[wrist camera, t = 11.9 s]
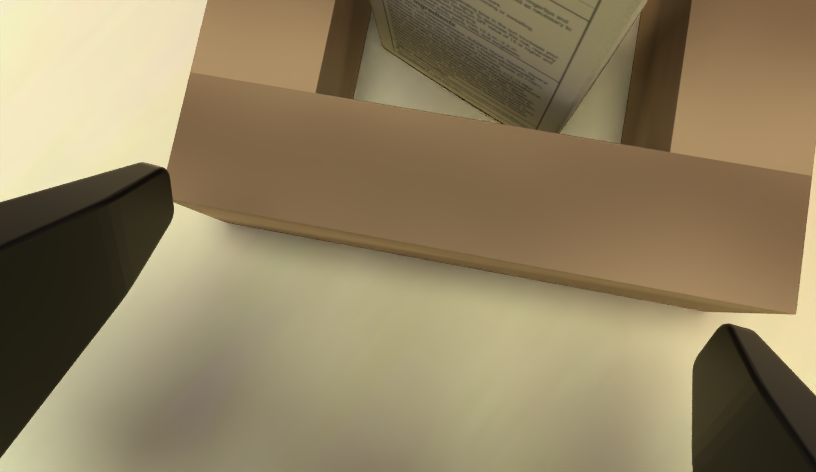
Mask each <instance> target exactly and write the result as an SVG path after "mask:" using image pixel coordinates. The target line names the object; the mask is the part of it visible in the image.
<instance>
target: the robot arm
mask: <svg viewBox="0 0 816 472" xmlns="http://www.w3.org/2000/svg"><path fill="white" fill-rule="evenodd" d="M173 214H174V204H173V196H172V188H171V180H170V175H169V173H168V171H167V170H166V169H165V168H163V167H160V166H156V165H152V164H149V163H144V162H141V163H137V164H133V165H130V166H126V167H123V168H119V169H116V170H112V171H109V172H105V173H102V174H98V175H95V176H91V177H87V178H84V179H80V180H77V181H73V182H70V183H66V184H63V185H59V186H56V187H52V188H49V189H45V190H42V191H38V192H35V193H31V194H28V195H24V196H21V197H17V198H14V199H10V200H7V201H3V202H0V458H1V457H2V455H3V454H4V453H5V452H6V450H7V449H8V448H9V446H10V445H11V444H12V443H13V441H14V440H15V439H16V437H17V436H18V435H19V433H20V432H21V431H22V430H23V428H24V427H25V426H26V424H27V423H28V422H29V421H30V419H31V418H32V417H33V415H34V414H35V413H36V411H37V410H38V409H39V408H40V406H41V405H42V404H43V402H44V401H45V400H46V399H47V397H48V396H49V395H50V393H51V392H52V391H53V389H54V388H55V387H56V386H57V384H58V383H59V382H60V380H61V379H62V378H63V377H64V375H65V374H66V373H67V371H68V370H69V369H70V367H71V366H72V365H73V364H74V362H75V361H76V360H77V358H78V357H79V356H80V355H81V353H82V352H83V351H84V349H85V348H86V347H87V346H88V344H89V343H90V342H91V340H92V339H93V338H94V336H95V335H96V334H97V333H98V331H99V330H100V329H101V327H102V326H103V325H104V324H105V322H106V321H107V320H108V318H109V317H110V316H111V314H112V313H113V312H114V311H115V309H116V308H117V307H118V305H119V304H120V303H121V301H122V300H123V299H124V297H125V296H126V295H127V293H128V292H129V290H130V289H131V287H132V285H133V284H134V282H135V281H136V279H137V278H138V276H139V274H140V273H141V271H142V269H143V268H144V266H145V264H146V263H147V261H148V259H149V258H150V256H151V254H152V253H153V251H154V249H155V248H156V246H157V244H158V243H159V241H160V239H161V238H162V236H163V235H164V233H165V231H166V230H167V228H168V226H169V225H170V223H171V221H172V218H173ZM692 466H693V472H816V395H815V394H814V393H813V392H812V391H811V390H810V389H809V388H808V387H807V386H806V385H805V384H804V383H803V382H802V381H801V380H800V379H799V378H798V376H797V375H796V374H795V373H794V372H793V371H792V370H791V369H790V368H789V367H788V366H787V365H786V364H785V363H784V362H783V361H782V360H781V359H780V358H779V357H778V355H777V354H776V353H775V352H774V351H773V350H772V349H771V348H770V347H769V346H768V345H767V344H766V343H765V342H764V341H763V340H762V339H761V338H760V337H759V336H758V334H756V333H755V332H754V331H752V330H750V329H747V328H743V327H739V326H736V325H732V324H723V325H722V326H720V327H719V328H718V329H717V330H716V332H715V333H714V334H713V336H712V337H711V338H710V340H709V341H708V342H707V344H706V345H705V346H704V348H703V349H702V350H701V352H700V353H699V354H698V356H697V357H696V360H695V362H694V365H693V375H692Z"/></svg>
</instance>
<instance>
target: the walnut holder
mask: <svg viewBox="0 0 816 472" xmlns="http://www.w3.org/2000/svg"><path fill="white" fill-rule="evenodd" d="M371 9H372V7H371V4H370V0H208V1H207V5H206V9H205V13H204V18H203V22H202V26H201V30H200V34H199V38H198V43H197V47H196V51H195V55H194V59H193V63H192V67H191V72H190V76H189V80H188V84H187V88H186V92H185V97H184V101H183V105H182V109H181V113H180V117H179V122H178V126H177V130H176V134H175V138H174V142H173V147H172V151H171V155H170V159H169V163H168V167H167V171H168V173H169V175H170V180H171V188H172V196H173V202H174V203H177V204H179V205H182V206H185V207H187V208H190V209H192V210H195V211H198V212H200V213H203V214H205V215H208V216H211V217H213V218H216V219H219V220H221V221H224V222H227V223H233V224H238V225H244V226H249V227H254V228H260V229H265V230H270V231H276V232H281V233H287V234H292V235H297V236H303V237H308V238H313V239H319V240H324V241H329V242H335V243H340V244H346V245H351V246H356V247H362V248H367V249H372V250H378V251H383V252H389V253H394V254H399V255H405V256H410V257H415V258H421V259H426V260H432V261H437V262H442V263H448V264H453V265H458V266H464V267H469V268H475V269H480V270H485V271H491V272H496V273H501V274H507V275H512V276H518V277H523V278H528V279H534V280H539V281H544V282H550V283H555V284H561V285H566V286H571V287H577V288H582V289H587V290H593V291H598V292H604V293H609V294H614V295H620V296H625V297H630V298H636V299H641V300H646V301H652V302H657V303H663V304H668V305H673V306H679V307H684V308H689V309H695V310H700V311H706V312H733V313H765V314H796V309H797V300H798V292H799V283H800V275H801V266H802V257H803V249H804V240H805V232H806V223H807V214H808V206H809V197H810V189H811V180H812V171H813V163H814V154H815V146H816V0H648V1H647V3H646V4H645V6H644V7H643V9H642V11H641V17H640V24H639V30H638V37H637V43H636V50H635V56H634V63H633V69H632V76H631V82H630V89H629V95H628V102H627V108H626V115H625V121H624V128H623V134H622V141H621V144H618V143H612V142H606V141H600V140H594V139H588V138H582V137H576V136H570V135H564V134H558V133H552V132H546V131H540V130H534V129H528V128H522V127H516V126H510V125H504V124H498V123H492V122H486V121H480V120H474V119H468V118H462V117H456V116H450V115H444V114H438V113H432V112H426V111H420V110H414V109H408V108H402V107H396V106H390V105H384V104H378V103H372V102H366V101H360V100H354V99H353V96H354V91H355V87H356V82H357V77H358V72H359V67H360V63H361V58H362V53H363V48H364V43H365V38H366V34H367V29H368V24H369V19H370V14H371Z"/></svg>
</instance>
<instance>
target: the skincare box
mask: <svg viewBox="0 0 816 472" xmlns="http://www.w3.org/2000/svg"><path fill="white" fill-rule="evenodd" d="M647 1H648V0H370V4H371V7H372V11H373V15H374V18H375V22H376V25H377V29H378V33H379V36H380V40H381V43H382V45H383V46H384V47H385V48H386V49H387V50H389V51H390V52H392V53H393V54H395V55H396V56H398V57H399V58H401V59H402V60H404V61H405V62H407V63H408V64H410V65H411V66H413V67H414V68H416V69H417V70H419V71H420V72H422V73H424V74H425V75H427V76H428V77H430V78H431V79H433V80H435V81H436V82H438V83H439V84H441V85H443V86H444V87H446V88H447V89H449V90H450V91H452V92H453V93H455V94H457V95H458V96H460V97H462V98H463V99H465V100H466V101H468V102H470V103H471V104H473V105H474V106H476V107H478V108H479V109H481V110H482V111H484V112H486V113H487V114H489V115H490V116H492V117H494V118H495V119H497V120H498V121H500V122H502V123H503V124H505V125H510V126H516V127H522V128H528V129H534V130H540V131H546V132H552V133H558V134H559V133H560V132H561V130H562V129H563V127H564V126H565V125H566V123H567V122H568V120H569V119H570V118H571V116H572V115H573V113H574V112H575V110H576V109H577V107H578V106H579V104H580V103H581V101H582V100H583V98H584V97H585V95H586V94H587V92H588V91H589V89H590V88H591V86H592V85H593V83H594V82H595V80H596V79H597V77H598V76H599V74H600V73H601V72H602V70H603V69H604V67H605V66H606V64H607V63H608V61H609V60H610V58H611V57H612V55H613V54H614V52H615V51H616V49H617V47H618V46H619V44H620V43H621V41H622V40H623V38H624V37H625V35H626V34H627V32H628V30H629V29H630V27H631V26H632V24H633V23H634V21H635V20H636V18H637V17H638V15H639V13H640V12H641V10H642V9H643V7H644V6H645V4H646V3H647Z"/></svg>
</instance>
